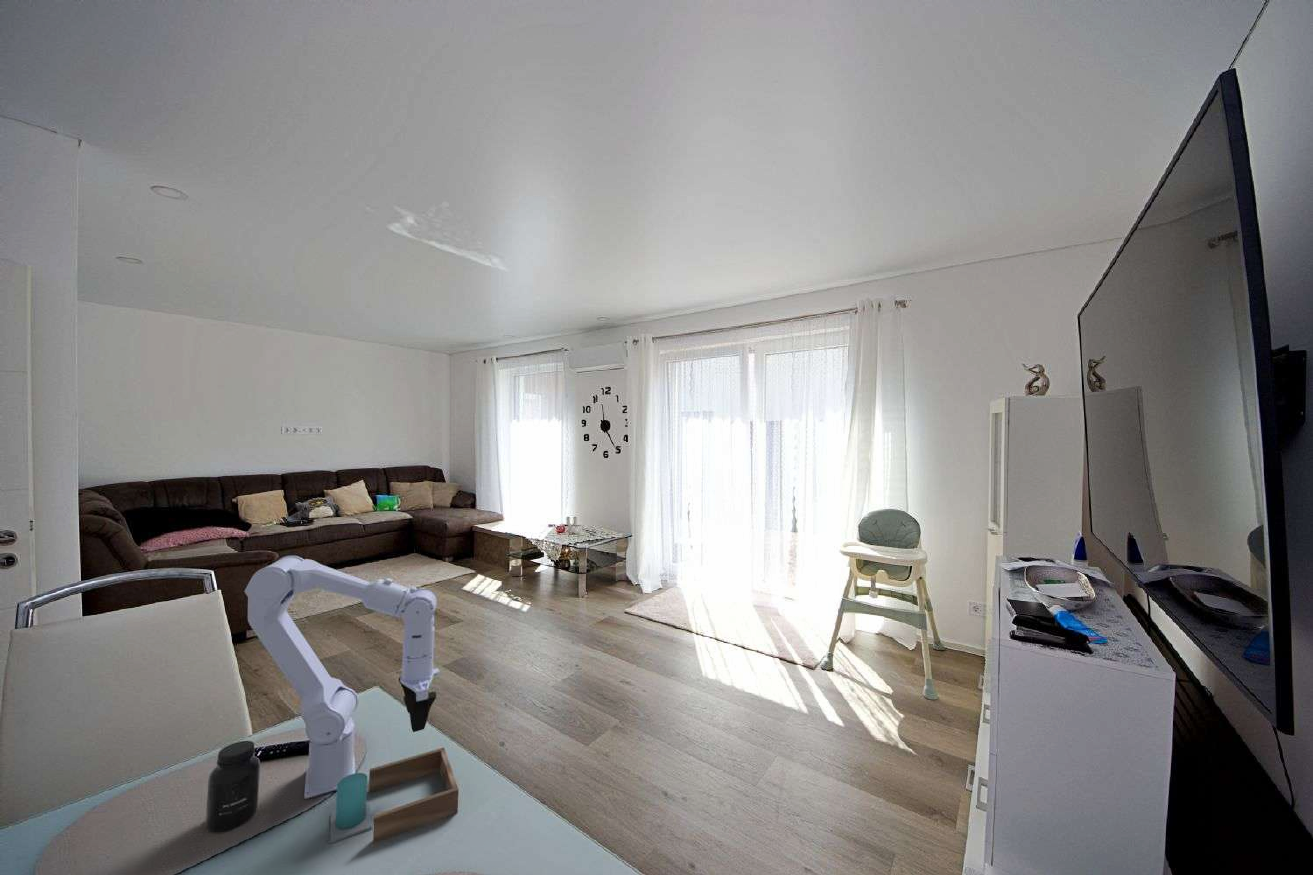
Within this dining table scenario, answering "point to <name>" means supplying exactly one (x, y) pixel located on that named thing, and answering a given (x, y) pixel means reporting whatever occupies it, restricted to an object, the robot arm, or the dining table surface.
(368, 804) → the mat
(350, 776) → the capsule
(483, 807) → the dining table surface
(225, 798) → the supplement bottle
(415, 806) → the open u-shaped frame
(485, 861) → the dining table surface
